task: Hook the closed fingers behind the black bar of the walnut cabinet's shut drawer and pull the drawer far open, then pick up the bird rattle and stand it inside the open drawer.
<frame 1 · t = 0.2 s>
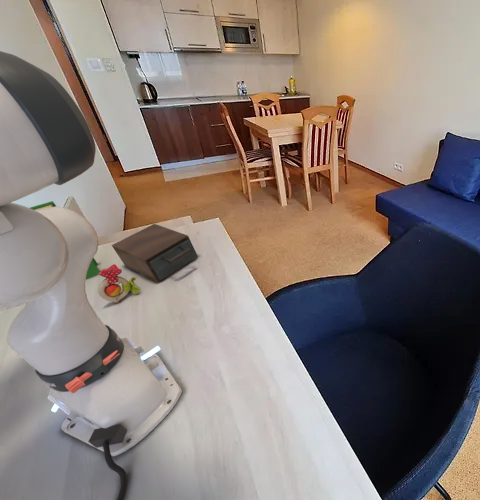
hardback book: (68, 281, 98), on the table
drawer: (163, 254, 98), point 4 cm above the table, slide at 0.0 cm, touching cabinet
cabinet: (161, 261, 102), on the table
bird rattle: (126, 297, 89), on the table
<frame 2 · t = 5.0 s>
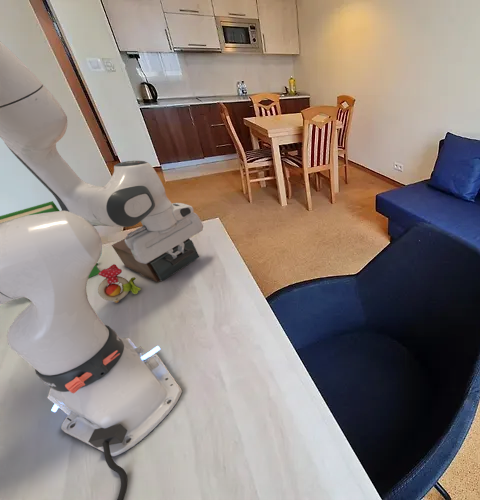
hand: (179, 257, 92), 6 cm above the table, tool pointing down, fingers closed
drawer: (165, 254, 98), point 4 cm above the table, slide at 1.0 cm, touching gripper
everything else where it was.
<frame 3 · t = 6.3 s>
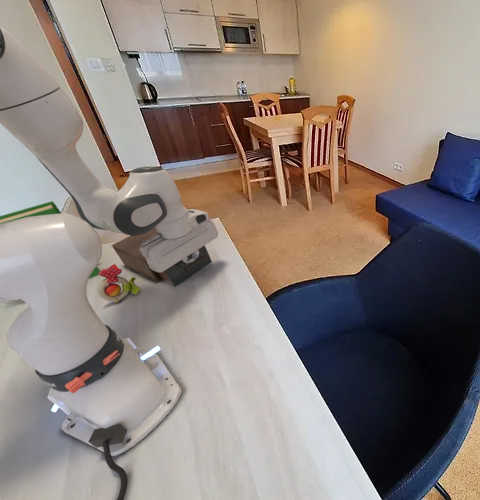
hand: (194, 265, 90), 5 cm above the table, tool pointing down, fingers closed
drawer: (177, 260, 95), point 4 cm above the table, slide at 7.6 cm, touching gripper
everything else where it was.
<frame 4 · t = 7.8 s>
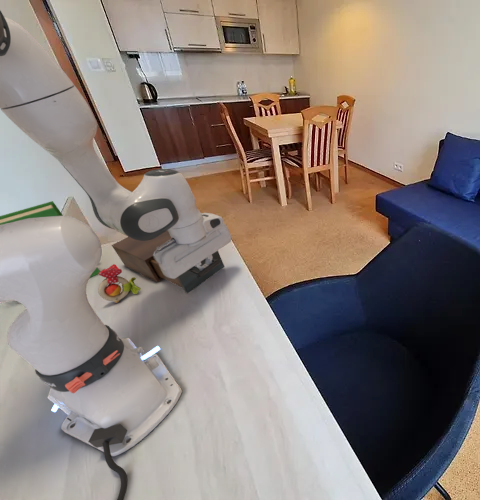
hand: (207, 270, 87), 5 cm above the table, tool pointing down, fingers closed, pressing on drawer
drawer: (188, 265, 92), point 4 cm above the table, slide at 13.6 cm, touching gripper
everything else where it was.
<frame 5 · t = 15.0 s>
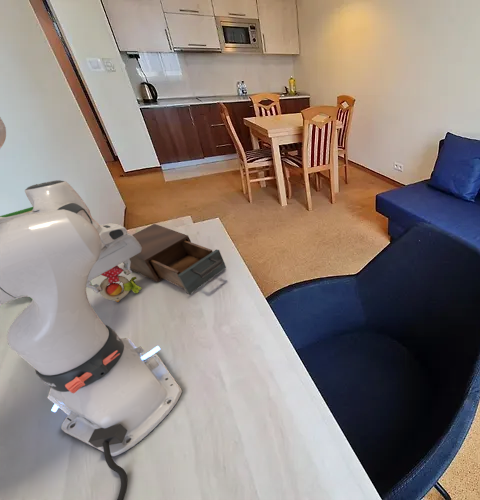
hand: (114, 281, 85), 6 cm above the table, tool pointing down, fingers closed on bird rattle, 7 cm apart
drawer: (190, 265, 91), point 4 cm above the table, slide at 14.4 cm
bird rattle: (127, 296, 89), on the table, touching gripper
everything else where it was.
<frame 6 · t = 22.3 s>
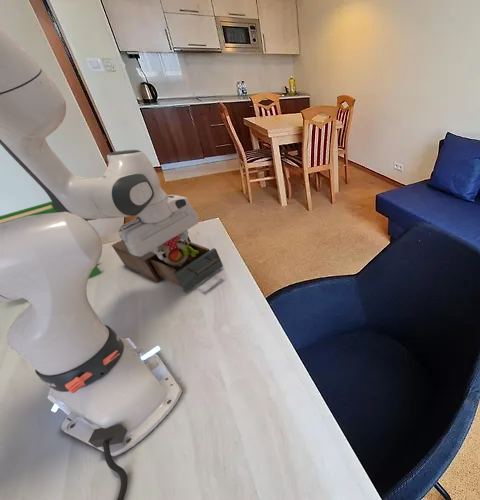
hand: (175, 250, 90), 9 cm above the table, tool pointing down, fingers closed on bird rattle, 6 cm apart
drawer: (187, 264, 92), point 4 cm above the table, slide at 12.9 cm, touching bird rattle
bird rattle: (187, 261, 94), point 4 cm above the table, touching drawer, gripper
everything else where it was.
when the fingers open (9 cm above the table, at t = 23.6 s): bird rattle drops 1 cm, resting on drawer.
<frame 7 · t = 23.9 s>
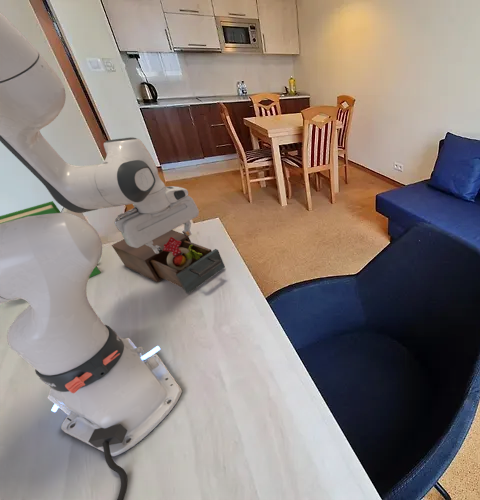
hand: (174, 243, 88), 12 cm above the table, tool pointing down, fingers open, 8 cm apart
drawer: (189, 265, 92), point 4 cm above the table, slide at 13.8 cm, touching bird rattle
bird rattle: (191, 263, 95), point 3 cm above the table, touching drawer
everything else where it was.
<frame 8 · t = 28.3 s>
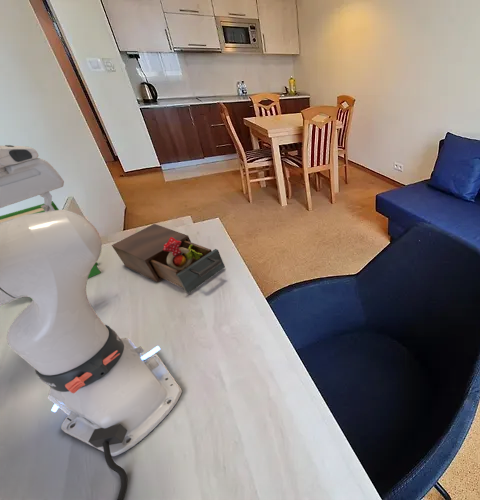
hand: (26, 221, 68), 29 cm above the table, tool pointing down, fingers open, 8 cm apart
nothing on the table moved.
at the end: drawer slide at 13.8 cm; bird rattle inside the target area (1.7 cm from its centre), point 2.9 cm above the table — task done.
